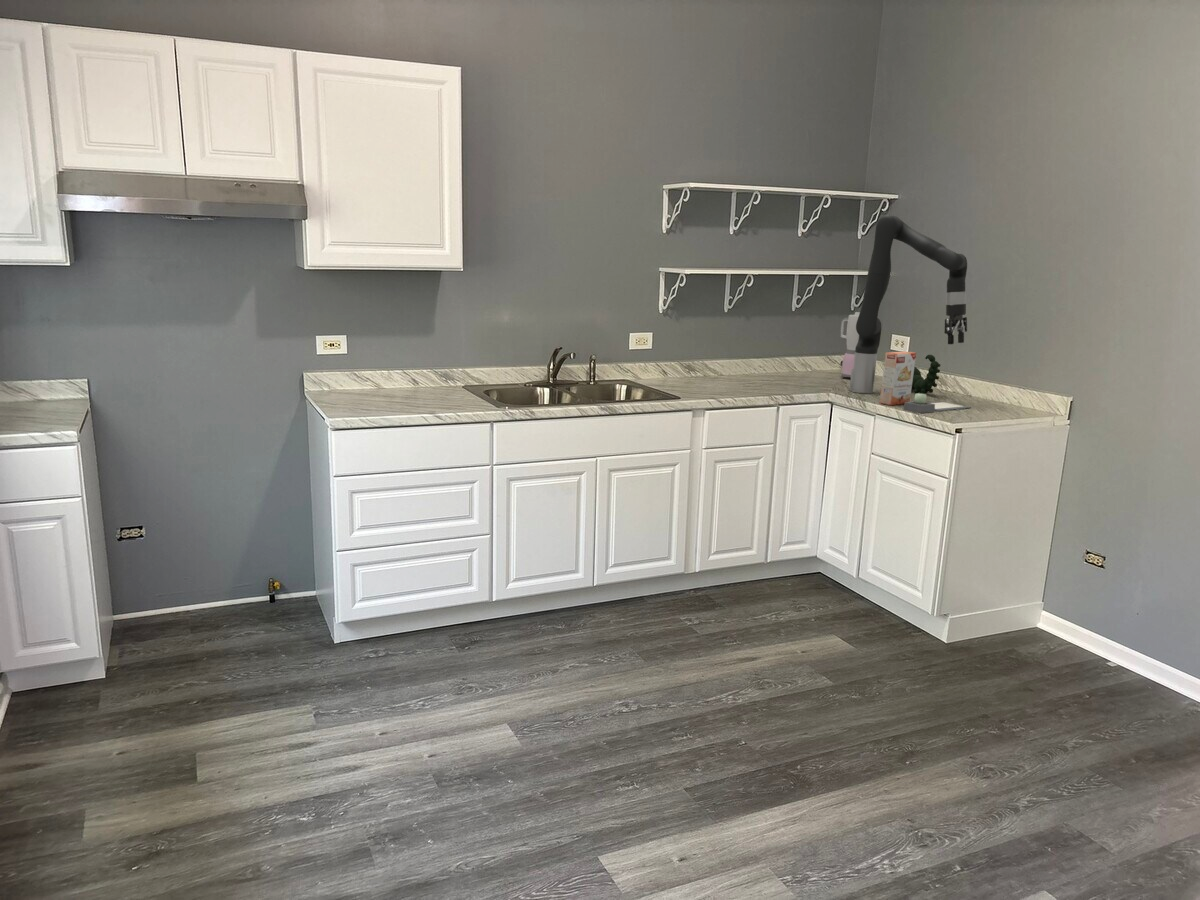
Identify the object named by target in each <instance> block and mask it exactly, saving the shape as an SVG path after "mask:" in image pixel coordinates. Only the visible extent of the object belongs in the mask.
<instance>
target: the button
mask: <svg viewBox="0 0 1200 900" xmlns="http://www.w3.org/2000/svg"><path fill="white" fill-rule="evenodd" d="M913 401H914V403H915V404H920V405H923V404H925V403H927V402H926V401H927V393H926V394H925V393H919V392H918V393H916V394H915V393H914V400H913Z"/></svg>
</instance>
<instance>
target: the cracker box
mask: <svg viewBox="0 0 1200 900" xmlns="http://www.w3.org/2000/svg"><path fill="white" fill-rule="evenodd" d="M884 355H885V356H884V361H883V362H884V364H883V370H882V371H883V372H882V377H881V378H882V380H881V388H880V394H879V395H880V397H879V404H882V405H887V406H895V405H896V404H897V405H903V404H904V402H911V395H912V391H911V389H912V381H913V374H914V367H916V359H917V352H914V351H892V352H885V354H884Z"/></svg>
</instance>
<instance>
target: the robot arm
mask: <svg viewBox="0 0 1200 900" xmlns="http://www.w3.org/2000/svg"><path fill="white" fill-rule="evenodd" d="M874 231H875V232H874V243H873V250H872V253H871V257H870V261H869V267H868V271H867V275H866V280H865V284H864V285H865V286H864V291H863V299H862V304H861V308H860V310H859V312H860V314H859V317H858V320H857V323H856V331H857V333H858V334H859V340H858V343H857V345H856V348H855V358H854V368H853V369H852V370H851V377H850V381H849V391H850V392H853V393H857V394H873V393H874V387H875V385H874V384H875V377H876V367H877V358H878V350H879V347H880V342H881V334H882V322H881V320H880V319H879V317H878V316H879V310H880V306H881V303H882V300H884V296H885V295H886V293H887V291H888V286H889V283H890V278H891V274H892V273H891V272H892V260H891V259H892V258H891V257H892V256H891V252H892V245H893V242H894V240H896V241H900V242H902V243H904V244H906V245H908V246H909V247H911V248H912V249H913V250H914V251H917V252H918V253H919V254H921V256H922V255H923V256H924V257H926V258H928V259H930V260H932V261H933V262H935V263H937V264H939V265H940V266H942V267H943V268H944V269H947V270H948V271H949V273H948V275H949V277H948V278H947V280H946V297H945V315H946V316H947V317H948V316H949V318H945V319H944V334H946V335H947V344H948V345H954V343H955V332H956V331H957V333H958V334H957V343H958V344H964V343H965V334H966V332H968V318H967V316H965V315H966V314H967V295H966V278H967V277H966V276H967V271H968V260H967V257H966V255H965V254H962V253H959V252H955V251H953V250H951V249H948V248H947V246H945V245H944V244H942V243H940V242H938V241H936V240H935V239H933V238H931V237H928V236H927V235H925V234H922V233H920V232H918V231H916V229H913V228H912V227H911V226H909V225H908V224H907V223H905V222H904V221H903V220H902V219H900V218H899V217H898V216H895V215H891V214H884V215H882V216H881V217H880V218H879V219H878V220H877V222H876V224H875V230H874ZM963 316H964V317H963Z"/></svg>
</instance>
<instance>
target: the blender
mask: <svg viewBox="0 0 1200 900" xmlns="http://www.w3.org/2000/svg"><path fill="white" fill-rule="evenodd" d="M859 314H860V311H859V312H857V311H855V313H854V314H849V315H848V317H844V318H842V319H841V321H840V328H839V337H840V338H841V339H843V340H846V351H845V353H844V355H843V357H842V360H841V361H840V364H839V365H840V366H841V367H842V368H841V373H840V375H841V376H840V377H841V379H844V377H845V378H846V377H847V378H851V370H852V369H853V368H854V358H855V348H856V345H857V343H858V340H859V334H858V333H857V331H856V323H857V320H858V317H859ZM846 322H847V325H846V334H845V335H844V332H845V331H844V330H845V323H846Z"/></svg>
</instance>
